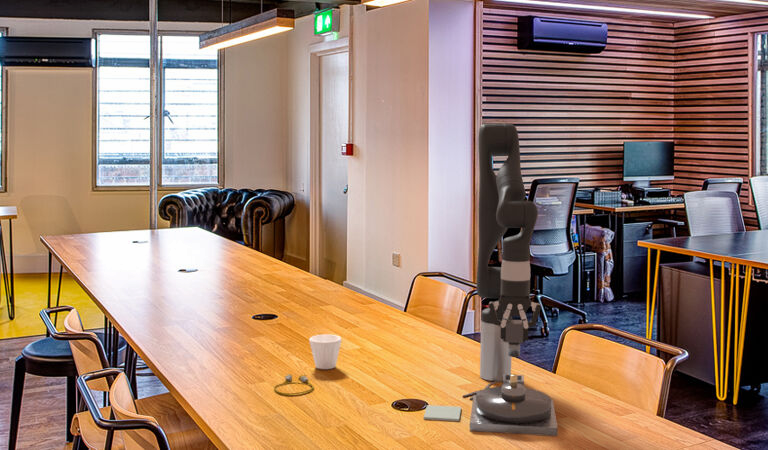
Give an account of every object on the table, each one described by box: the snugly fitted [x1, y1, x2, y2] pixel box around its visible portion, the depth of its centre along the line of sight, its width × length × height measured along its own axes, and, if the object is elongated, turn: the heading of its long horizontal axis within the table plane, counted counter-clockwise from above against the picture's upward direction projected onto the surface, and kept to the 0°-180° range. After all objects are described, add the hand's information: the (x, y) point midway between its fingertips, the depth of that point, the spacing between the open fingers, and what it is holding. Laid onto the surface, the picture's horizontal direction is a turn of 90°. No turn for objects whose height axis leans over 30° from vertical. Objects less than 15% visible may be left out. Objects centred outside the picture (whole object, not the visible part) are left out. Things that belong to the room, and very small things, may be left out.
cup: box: [308, 333, 342, 371], centre depth 243 cm, size 10×10×9 cm
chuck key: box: [506, 319, 524, 358], centre depth 205 cm, size 4×4×9 cm
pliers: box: [462, 381, 503, 401], centre depth 221 cm, size 10×1×20 cm
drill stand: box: [469, 395, 559, 437], centre depth 200 cm, size 21×21×2 cm
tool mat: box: [423, 404, 462, 422], centre depth 203 cm, size 9×9×1 cm
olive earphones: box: [273, 373, 315, 397], centre depth 225 cm, size 12×16×2 cm
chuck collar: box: [476, 373, 552, 423], centre depth 200 cm, size 20×19×9 cm
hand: (514, 340), depth 206 cm, fingers closed on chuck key, 4 cm apart
